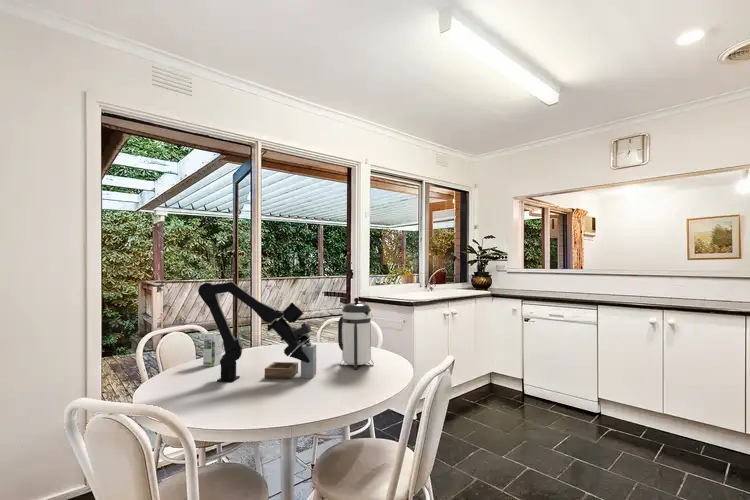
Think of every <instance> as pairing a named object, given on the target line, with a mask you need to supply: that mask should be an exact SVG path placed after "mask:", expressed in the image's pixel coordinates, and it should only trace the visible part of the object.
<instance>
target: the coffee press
mask: <svg viewBox="0 0 750 500" xmlns="http://www.w3.org/2000/svg"><path fill="white" fill-rule="evenodd" d="M353 301H354V302H352V303H350V302H349V303H346V304H345V305H344V306H343V308H342V310H341V311H342V316H341V317H340V318H339V320H338V323H337V324H338V325H337V335H338V336H337V341H338V347H339V348H340V350H341V351H342V359H341V360H340V363H339V366H341V367H343V366H344V365H345V364H347V365H351V366H353V370H357V371H358V366H363V365H366V364H368V365H369V366H371V365H374V363H375V362H374V361H373V360H372V346H371V345H372V338H371V337H372V335H371V334H372V331H371V329H372V328H371V327H372V325H371V321H372V320H371V318H372V317H371V312H372V309H371V307H370V306H369V304H367V303H365V302H364V303H363V302H360V299H359V297H355V298H354V299H353ZM370 361H371V363H372V364H371V363H370ZM342 362H343V364H342Z"/></svg>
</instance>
